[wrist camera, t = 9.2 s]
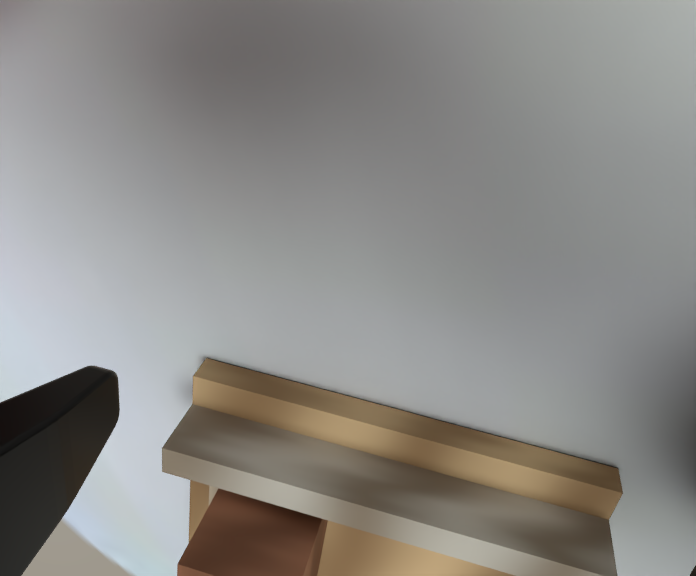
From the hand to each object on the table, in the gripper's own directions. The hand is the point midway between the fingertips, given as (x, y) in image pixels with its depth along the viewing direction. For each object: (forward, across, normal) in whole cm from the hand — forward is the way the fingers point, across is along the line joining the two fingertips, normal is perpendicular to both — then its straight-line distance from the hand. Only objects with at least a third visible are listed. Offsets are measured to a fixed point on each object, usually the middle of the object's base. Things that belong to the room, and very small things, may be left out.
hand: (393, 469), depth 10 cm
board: (+12, 0, +16) cm, 20 cm away
